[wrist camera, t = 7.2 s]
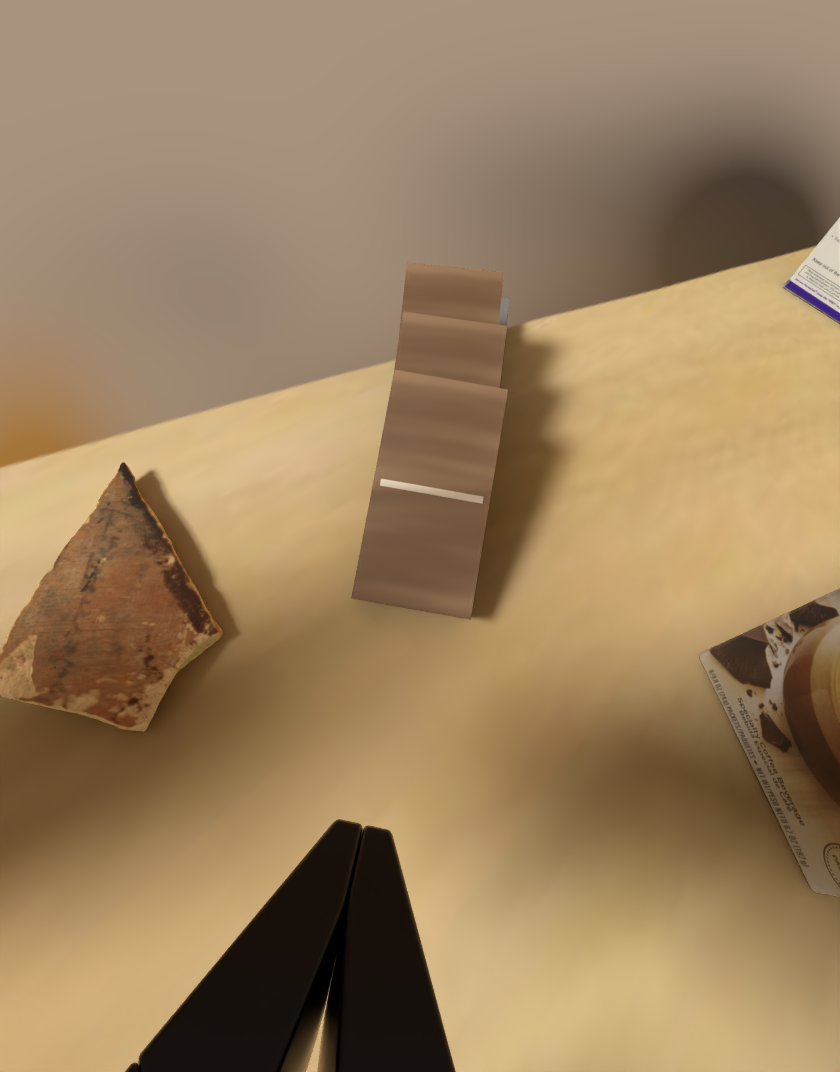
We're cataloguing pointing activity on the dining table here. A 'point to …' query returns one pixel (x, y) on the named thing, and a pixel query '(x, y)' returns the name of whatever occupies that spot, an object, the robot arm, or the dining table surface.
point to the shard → (108, 618)
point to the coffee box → (791, 725)
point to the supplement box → (820, 275)
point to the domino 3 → (431, 495)
